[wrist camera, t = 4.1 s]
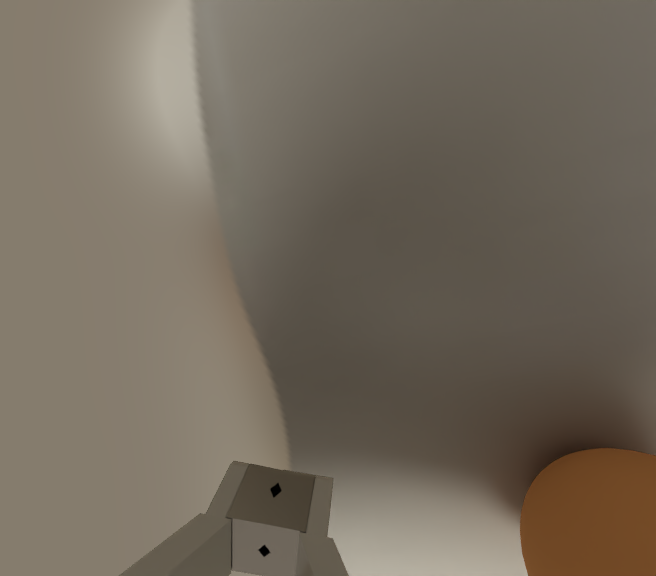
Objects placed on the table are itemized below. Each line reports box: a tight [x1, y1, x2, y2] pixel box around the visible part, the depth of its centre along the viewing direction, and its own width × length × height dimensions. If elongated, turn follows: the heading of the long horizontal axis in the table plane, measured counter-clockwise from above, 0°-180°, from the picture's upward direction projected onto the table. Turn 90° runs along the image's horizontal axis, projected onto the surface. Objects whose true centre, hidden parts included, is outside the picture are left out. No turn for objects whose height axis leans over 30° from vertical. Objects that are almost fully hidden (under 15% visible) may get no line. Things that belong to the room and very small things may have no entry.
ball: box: [520, 448, 656, 576], centre depth 8 cm, size 6×6×6 cm
